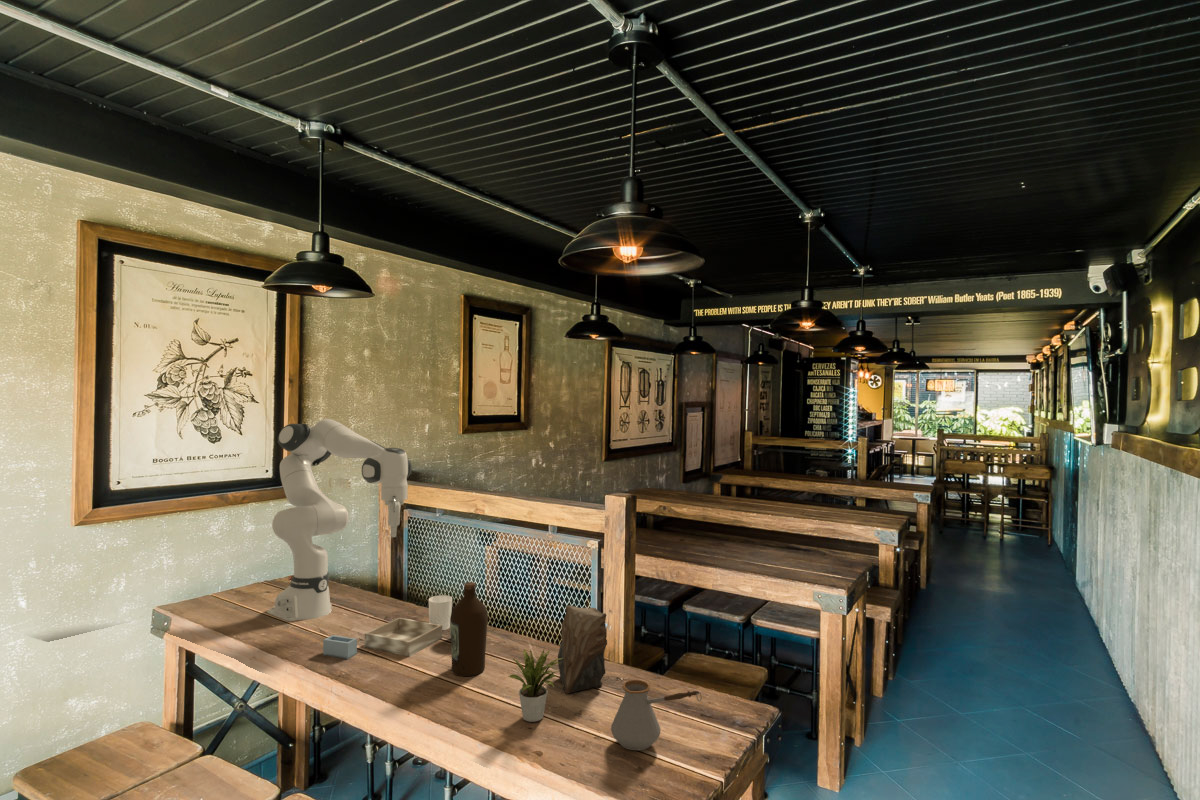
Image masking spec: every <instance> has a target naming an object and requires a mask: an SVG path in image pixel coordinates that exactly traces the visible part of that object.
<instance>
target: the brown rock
mask: <svg viewBox="0 0 1200 800" xmlns="http://www.w3.org/2000/svg"><path fill="white" fill-rule="evenodd" d="M564 615H565V616H564V618H563V620H562V624H561V638H562V641H561V642H560V645H559V649H558V653H557V659H559V658H563V659H560V660H557V662H559V664H557V665H558V666H557V667H558V671H559V679H560V681H561V682H560V683H562V688H563V690H564V692H565V693H566V695H567V694H572V693H575V692H580V691H583V690H589V689H591V688H598V687H600V686H602V685H603V681H602V679H603V678H604V676H605V674H606V666H605V663H606V661H605V660H606V659H605V657H604V655H605V651H606V649H607V648H606V647H607V645H608V640H607V628H606V626H607V625H606V620H607V614H606V613H603V612H601V611H599V610H598V609H597V608H596V607H579V606H578V607H577V606H576V605H569V604H568V605H566V607H565V614H564Z"/></svg>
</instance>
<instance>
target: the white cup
mask: <svg viewBox="0 0 1200 800" xmlns="http://www.w3.org/2000/svg"><path fill="white" fill-rule="evenodd" d="M452 605H453V597H452V596H449V595H445V594H444V595H435V596H431V597H429V598H428V619H429V623H432V624H438V625H442V631H446V630H448V629H449V630H450V616H451V613H452V610H453V606H452Z"/></svg>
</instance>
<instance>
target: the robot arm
mask: <svg viewBox="0 0 1200 800" xmlns="http://www.w3.org/2000/svg"><path fill="white" fill-rule="evenodd" d="M277 443H278V445H279V446H280V447H281V448H282V449H283V450H284V451H286V452H287V451H288V452H290V454H289V455H287V456H285V457H283V458H282V460H281V461H280V463H279V476H280V481H281V485H282V487H283V491H284V494H285V497H286V499H287V502H288V503H289V504H290V505H291V506H294V507H290V508H289V507H288V508H286V509H282V510H278V511H277V512H276V514H275V515H274V517H273V519H272V525H271V527H272V531H273V533H274V535H275V536H276V537H278V538H279V539H280V540H282V541H284V542H285V543H286V544H287V545H288V547H289V548H290V551H291V552H292V556H293V575H292V576H288V577H287V578H288V579H287V581H290V583H289V585H288V587H286V588H285V589H284V590H283V591H281V592H280V593H278V594H277V595H276V597H275V601H274V606H273V607H272V608H269V609H268V610H267V614H269V615H271V616H274V617H277V618H279V619H282V620H284V621H287V622H295V621H306V620H307V619H308V620H314V619H320V618H323V617H326V616H328V615H329V613H330V614H331V613H332V612H331V611H333V610H332V603H331V598H330V597H331V596H330V587H329V582H330V573H329V571H328V569H329V567H328V563H329V562H328V561H329V560H328V559H329V556H328V555H329V553H328V552H327V550H326V549H325V548H324V547H322V546H320V545H317V544H314V543H313V539H312V538H313V537H317V536H325V535H330V534H334V533H338V532H341V531H343V530H344V529H345V528H346V527H347V525H348V523H349V519H350V515H349V511H348V510H347V508H346V507H345V506H344V505H343V504H340V503H338V502H336V501H334V500H331V499H330V498H329V497H327V495H325V494H324V493H323V492H322V490H321V489H320V488H319V486H318V483H317V480H316V478H315V476H314V475H315V474H314V473H313V470H312V466H313V467H316V466H318V465H320V464H321V463H323V462H325V461H326V460H327V459H328V458H330V456H331V455H332V456H336V457H339V458H341V459H365V460H364V461H363V463H362V465H361V475H362V478H363V479H364V480H365V481H366V483H368V484H381V486H380V487H381V488H380V492H381V493H380V500H381V501H384V505H385V506H387V511H388V512H387V513H388V520H387V523H388V524H387V525H388V526H389V527H390V537H391V538H397V532H398V531H397V530H398V526H400V522H401V521H400V518H401V517H400V515H401V512H400V511H401V506H402V505H404V504H405V501H407V499H408V493H409V492H408V491H409V490H408V489H409V488H408V487H409V486H408V485H409V483H408V481H407V479H408V478H409V477H410V476H411V474H412V470H413V465H412V462H411V460H410V459H409V457H408V454H407V452H406V451H405V450H404V449H402V448H400V447H399V448H398V447H387V448H386V447H384V446H382V445H381V444H379V443H377V442H376V441H373V440H370V439H369V438H367V437H364V436H363V435H361V434H358V433H357V432H355V431H354V430H352V429H350V428H349V427H347V426H346V425H344V424H342V423H341V422H339V421H337V420H334V419H331V418H323V419H321V420H319V421H318V422H317V423H316V424H315V425H314V426H309V425H308V424H307V423H289V424H287V425H285V426H283V427H282V429H281V430H280V431H279V432H278V435H277ZM325 615H326V616H325ZM322 616H323V617H322ZM319 617H320V618H319Z"/></svg>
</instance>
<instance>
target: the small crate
mask: <svg viewBox="0 0 1200 800" xmlns="http://www.w3.org/2000/svg"><path fill="white" fill-rule="evenodd" d="M322 644H323V645H322V656H327V657H333V658H339V659H345V660H349V659H350V658H352V657H354V656H356V655H357V654H358V638H355V637H349V636H348V637H347V636H341V635H334V634H332V635H330V636H328V637H326V638H324V639H323V641H322Z"/></svg>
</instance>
